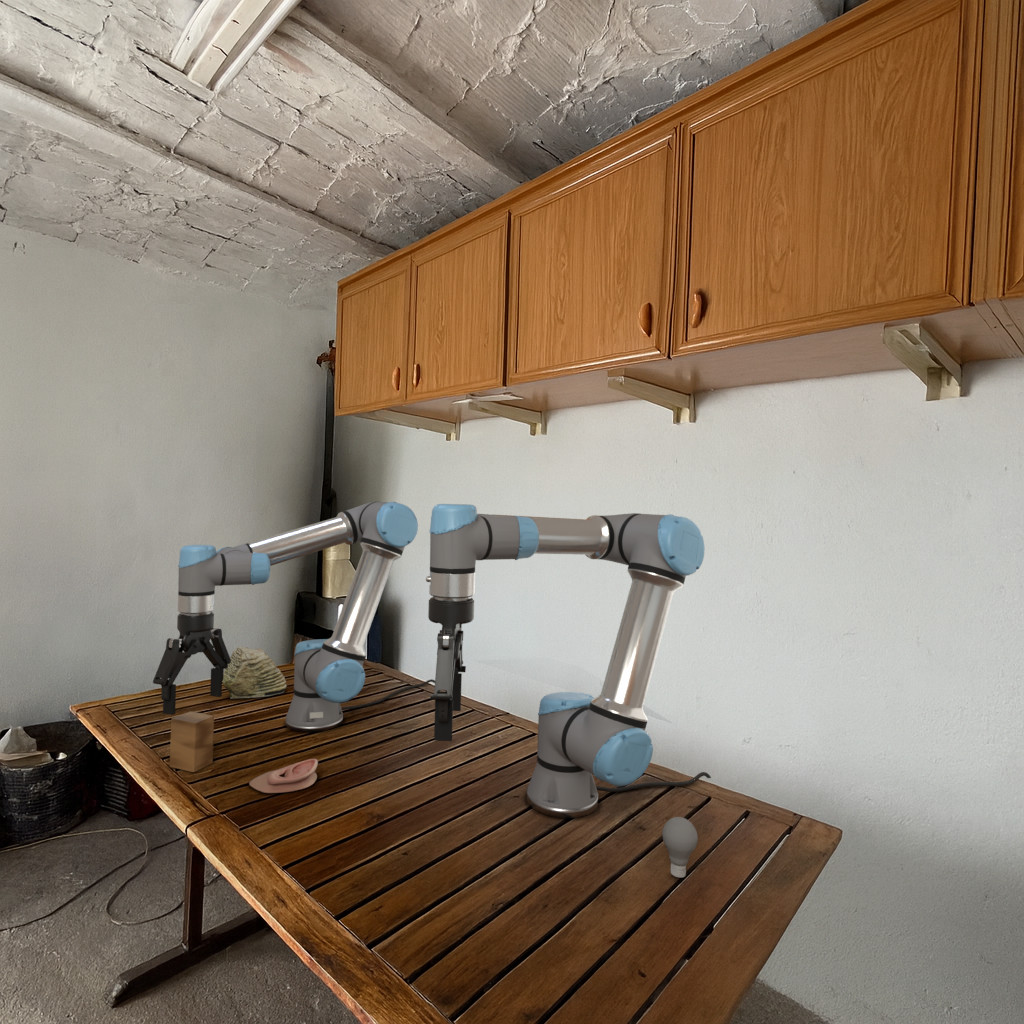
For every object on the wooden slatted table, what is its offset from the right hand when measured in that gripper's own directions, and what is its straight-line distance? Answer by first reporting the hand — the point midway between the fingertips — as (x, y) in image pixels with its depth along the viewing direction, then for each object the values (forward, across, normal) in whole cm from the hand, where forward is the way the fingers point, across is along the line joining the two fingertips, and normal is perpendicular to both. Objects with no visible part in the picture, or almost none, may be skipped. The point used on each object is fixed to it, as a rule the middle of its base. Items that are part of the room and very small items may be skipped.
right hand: (448, 724), depth 105 cm
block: (+26, -39, -64) cm, 79 cm away
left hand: (+12, -39, -63) cm, 75 cm away
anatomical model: (+26, -33, -40) cm, 58 cm away
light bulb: (+27, -5, +40) cm, 49 cm away
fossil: (+27, -91, -71) cm, 118 cm away
